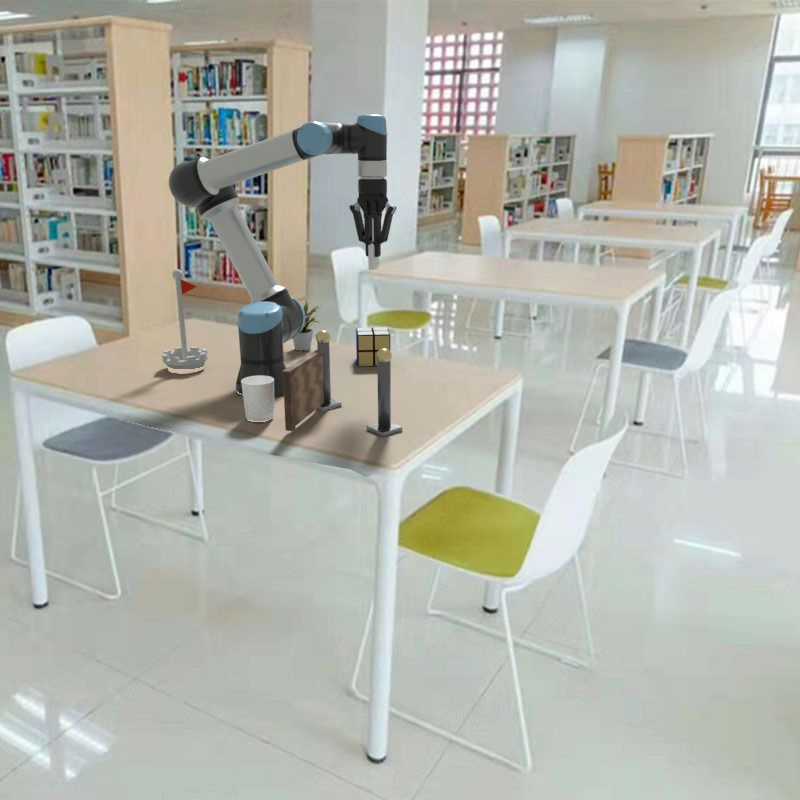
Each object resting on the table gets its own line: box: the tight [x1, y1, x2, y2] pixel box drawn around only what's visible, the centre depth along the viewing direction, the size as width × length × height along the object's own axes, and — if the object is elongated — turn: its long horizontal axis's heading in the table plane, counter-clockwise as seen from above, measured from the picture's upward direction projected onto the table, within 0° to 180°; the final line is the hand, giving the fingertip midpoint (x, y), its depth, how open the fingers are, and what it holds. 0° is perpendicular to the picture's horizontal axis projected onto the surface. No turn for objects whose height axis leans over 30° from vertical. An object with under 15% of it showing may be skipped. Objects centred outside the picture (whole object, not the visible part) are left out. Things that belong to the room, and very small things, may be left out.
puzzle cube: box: [355, 326, 391, 368], centre depth 237 cm, size 10×10×10 cm
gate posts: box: [315, 329, 403, 438], centre depth 187 cm, size 30×6×20 cm, turn 41°
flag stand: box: [161, 269, 209, 369], centre depth 226 cm, size 13×13×30 cm
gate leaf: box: [283, 349, 324, 432], centre depth 185 cm, size 20×2×14 cm, turn 163°
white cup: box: [241, 375, 275, 421], centre depth 188 cm, size 8×8×10 cm
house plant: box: [292, 300, 322, 352], centre depth 250 cm, size 14×14×16 cm
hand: (373, 268), depth 207 cm, fingers closed
